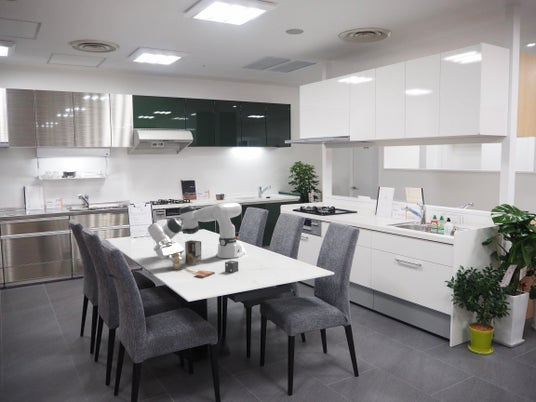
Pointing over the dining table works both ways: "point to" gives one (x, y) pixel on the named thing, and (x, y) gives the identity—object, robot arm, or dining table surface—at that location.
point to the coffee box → (193, 252)
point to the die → (231, 266)
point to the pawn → (177, 263)
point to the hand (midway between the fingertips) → (177, 260)
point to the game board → (198, 274)
